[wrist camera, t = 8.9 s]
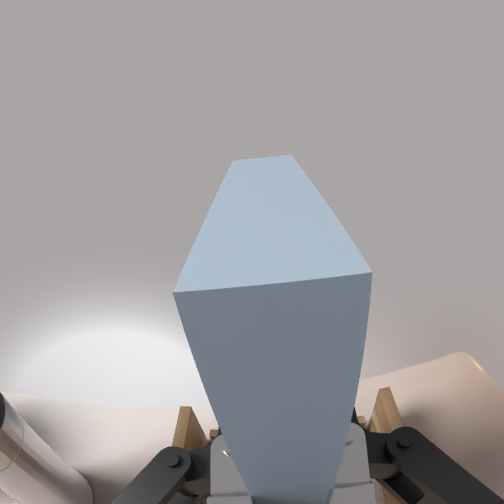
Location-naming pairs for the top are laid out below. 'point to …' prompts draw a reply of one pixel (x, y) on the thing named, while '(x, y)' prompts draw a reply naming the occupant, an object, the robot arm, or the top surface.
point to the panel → (277, 327)
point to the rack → (380, 422)
